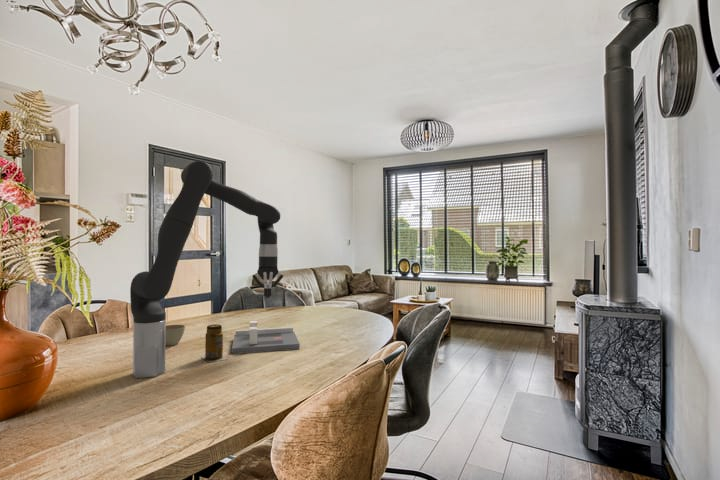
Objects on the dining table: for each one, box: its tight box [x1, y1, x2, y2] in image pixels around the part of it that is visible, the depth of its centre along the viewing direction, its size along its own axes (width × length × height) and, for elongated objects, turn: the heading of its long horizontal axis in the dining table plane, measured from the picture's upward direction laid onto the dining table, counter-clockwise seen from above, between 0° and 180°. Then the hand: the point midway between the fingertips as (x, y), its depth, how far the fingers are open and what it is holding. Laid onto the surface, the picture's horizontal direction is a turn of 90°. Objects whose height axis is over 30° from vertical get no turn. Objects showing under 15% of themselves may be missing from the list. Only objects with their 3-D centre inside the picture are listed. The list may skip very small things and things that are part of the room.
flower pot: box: [165, 324, 186, 346], centre depth 157 cm, size 10×10×7 cm
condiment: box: [200, 323, 229, 363], centre depth 139 cm, size 7×8×12 cm
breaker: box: [249, 320, 258, 328], centre depth 163 cm, size 4×3×6 cm
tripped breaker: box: [249, 326, 258, 345], centre depth 151 cm, size 4×3×6 cm
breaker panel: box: [231, 326, 301, 355], centre depth 158 cm, size 22×26×4 cm
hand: (267, 297), depth 154 cm, fingers closed
